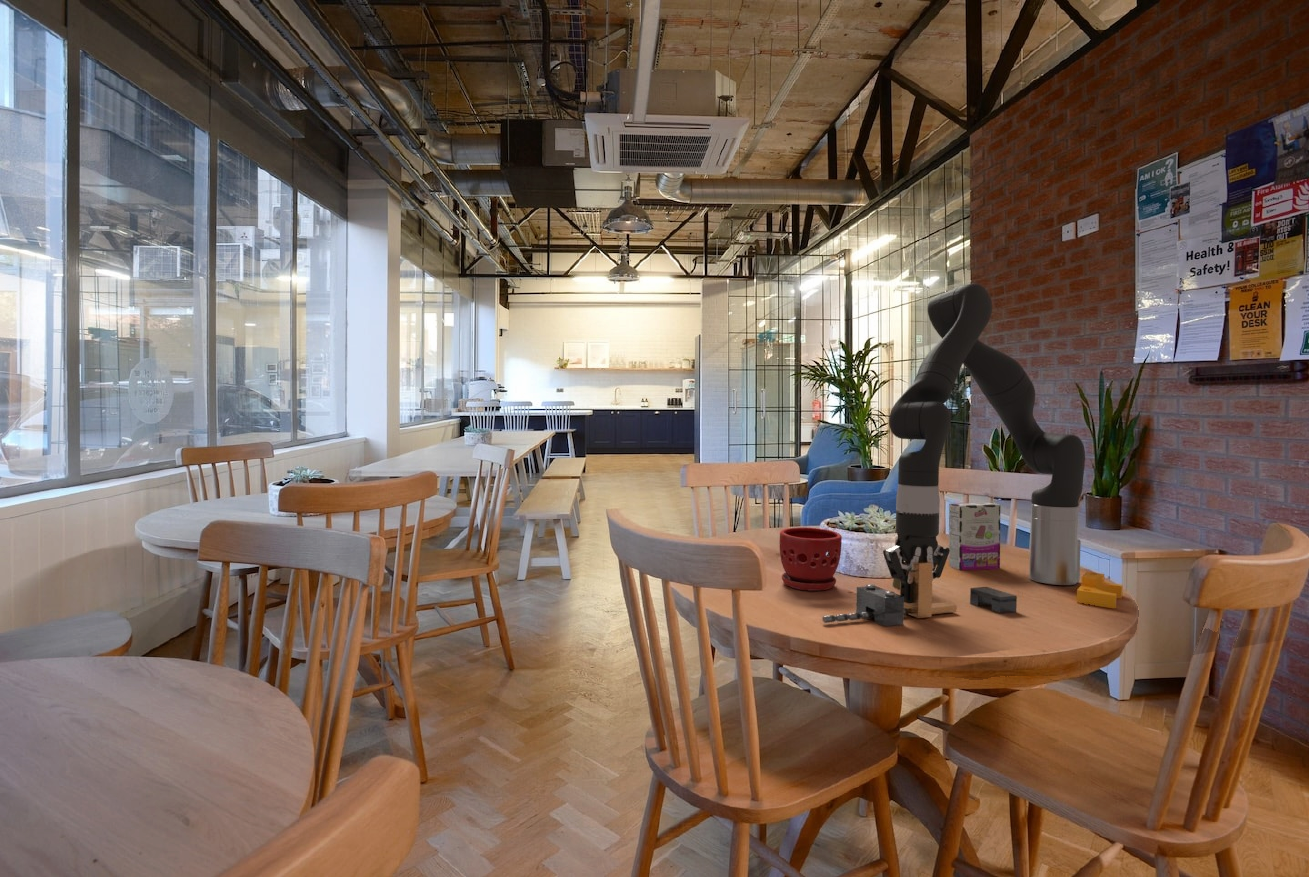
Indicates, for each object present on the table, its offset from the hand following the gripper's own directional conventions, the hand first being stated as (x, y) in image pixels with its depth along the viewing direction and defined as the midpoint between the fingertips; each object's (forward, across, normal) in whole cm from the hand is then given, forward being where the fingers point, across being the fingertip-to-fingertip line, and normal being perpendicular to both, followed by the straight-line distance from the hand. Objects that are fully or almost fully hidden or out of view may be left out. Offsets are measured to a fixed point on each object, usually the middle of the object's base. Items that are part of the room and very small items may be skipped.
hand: (915, 601), depth 127 cm
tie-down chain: (+3, +8, 0) cm, 8 cm away
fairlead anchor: (+3, +8, 0) cm, 8 cm away
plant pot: (+3, +7, -25) cm, 26 cm away
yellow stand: (0, -43, -1) cm, 43 cm away
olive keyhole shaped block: (+3, -13, -18) cm, 22 cm away
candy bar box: (+3, -41, -28) cm, 50 cm away
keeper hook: (+3, -18, 0) cm, 19 cm away
